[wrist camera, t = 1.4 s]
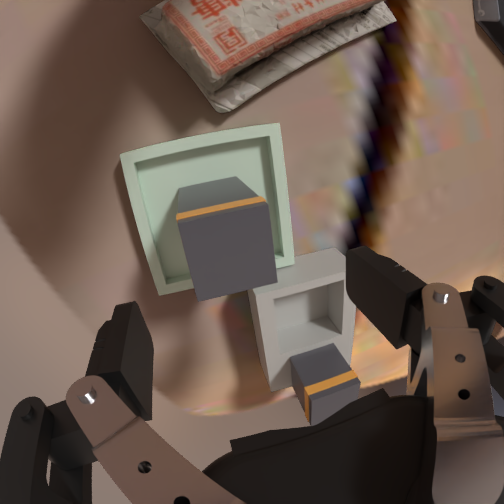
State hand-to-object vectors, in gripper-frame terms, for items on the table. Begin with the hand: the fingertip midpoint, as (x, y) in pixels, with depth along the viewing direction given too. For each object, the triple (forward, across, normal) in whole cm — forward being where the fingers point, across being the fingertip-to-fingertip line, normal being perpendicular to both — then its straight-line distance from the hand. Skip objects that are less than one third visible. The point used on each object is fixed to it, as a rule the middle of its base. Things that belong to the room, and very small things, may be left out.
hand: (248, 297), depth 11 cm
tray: (+12, 0, 0) cm, 12 cm away
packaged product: (+12, -7, -15) cm, 21 cm away
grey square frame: (+12, -6, +10) cm, 17 cm away
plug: (+11, 0, 0) cm, 11 cm away
